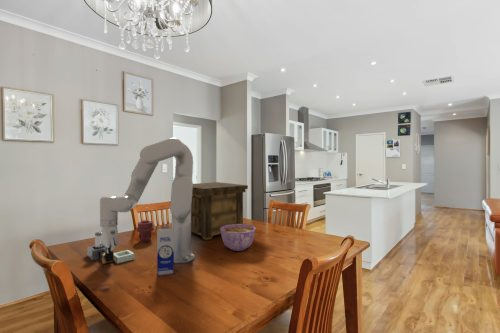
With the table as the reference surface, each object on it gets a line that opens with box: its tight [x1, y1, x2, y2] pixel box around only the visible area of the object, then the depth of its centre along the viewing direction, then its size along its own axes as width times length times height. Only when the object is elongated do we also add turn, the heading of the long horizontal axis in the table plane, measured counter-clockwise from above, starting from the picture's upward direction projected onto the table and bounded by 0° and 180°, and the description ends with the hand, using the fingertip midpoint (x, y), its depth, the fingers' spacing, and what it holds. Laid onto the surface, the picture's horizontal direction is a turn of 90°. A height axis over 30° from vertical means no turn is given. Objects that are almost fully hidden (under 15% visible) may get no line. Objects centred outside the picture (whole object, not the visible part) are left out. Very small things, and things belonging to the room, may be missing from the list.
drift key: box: [99, 251, 114, 265], centre depth 132 cm, size 10×4×4 cm, turn 45°
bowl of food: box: [220, 223, 257, 252], centre depth 150 cm, size 20×20×12 cm
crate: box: [191, 181, 249, 241], centre depth 183 cm, size 35×35×33 cm
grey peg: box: [94, 231, 104, 250], centre depth 138 cm, size 4×4×12 cm
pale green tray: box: [113, 249, 136, 264], centre depth 133 cm, size 8×8×3 cm
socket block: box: [86, 245, 105, 261], centre depth 138 cm, size 9×9×4 cm
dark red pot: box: [136, 219, 155, 243], centre depth 164 cm, size 12×10×10 cm
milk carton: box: [156, 226, 175, 277], centre depth 118 cm, size 7×7×20 cm
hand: (109, 260), depth 127 cm, fingers closed
